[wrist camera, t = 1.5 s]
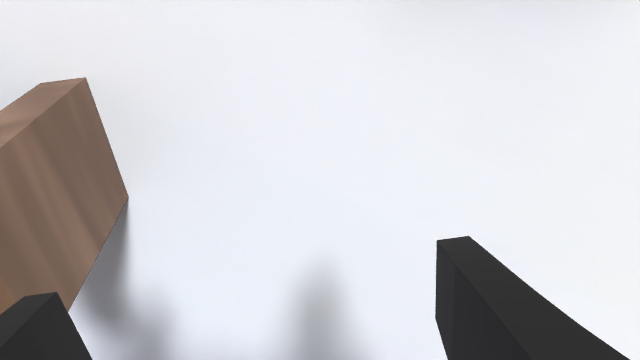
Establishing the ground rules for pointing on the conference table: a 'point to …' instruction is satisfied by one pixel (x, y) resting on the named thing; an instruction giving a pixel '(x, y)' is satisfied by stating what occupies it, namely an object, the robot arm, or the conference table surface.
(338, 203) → the conference table surface
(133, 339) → the conference table surface
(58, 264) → the brown wooden block
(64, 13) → the conference table surface
